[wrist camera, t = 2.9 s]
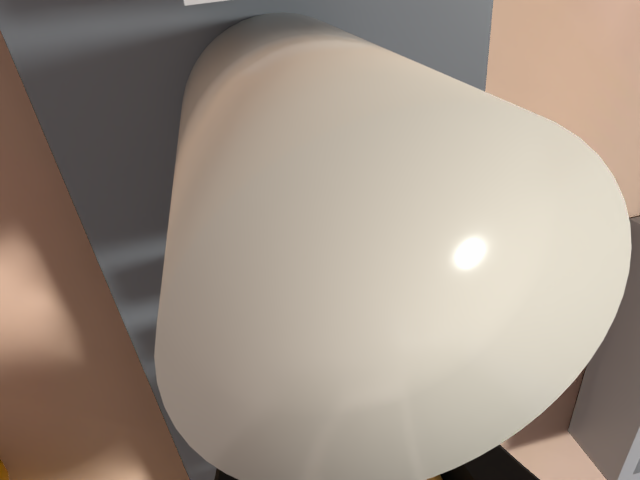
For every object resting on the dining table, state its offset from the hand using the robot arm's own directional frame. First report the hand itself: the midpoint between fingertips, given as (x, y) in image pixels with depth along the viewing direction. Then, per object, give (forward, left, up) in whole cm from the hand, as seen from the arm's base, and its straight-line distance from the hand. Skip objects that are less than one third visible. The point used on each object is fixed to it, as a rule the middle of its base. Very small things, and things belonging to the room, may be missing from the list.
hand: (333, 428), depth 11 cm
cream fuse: (+7, 0, -1) cm, 7 cm away
